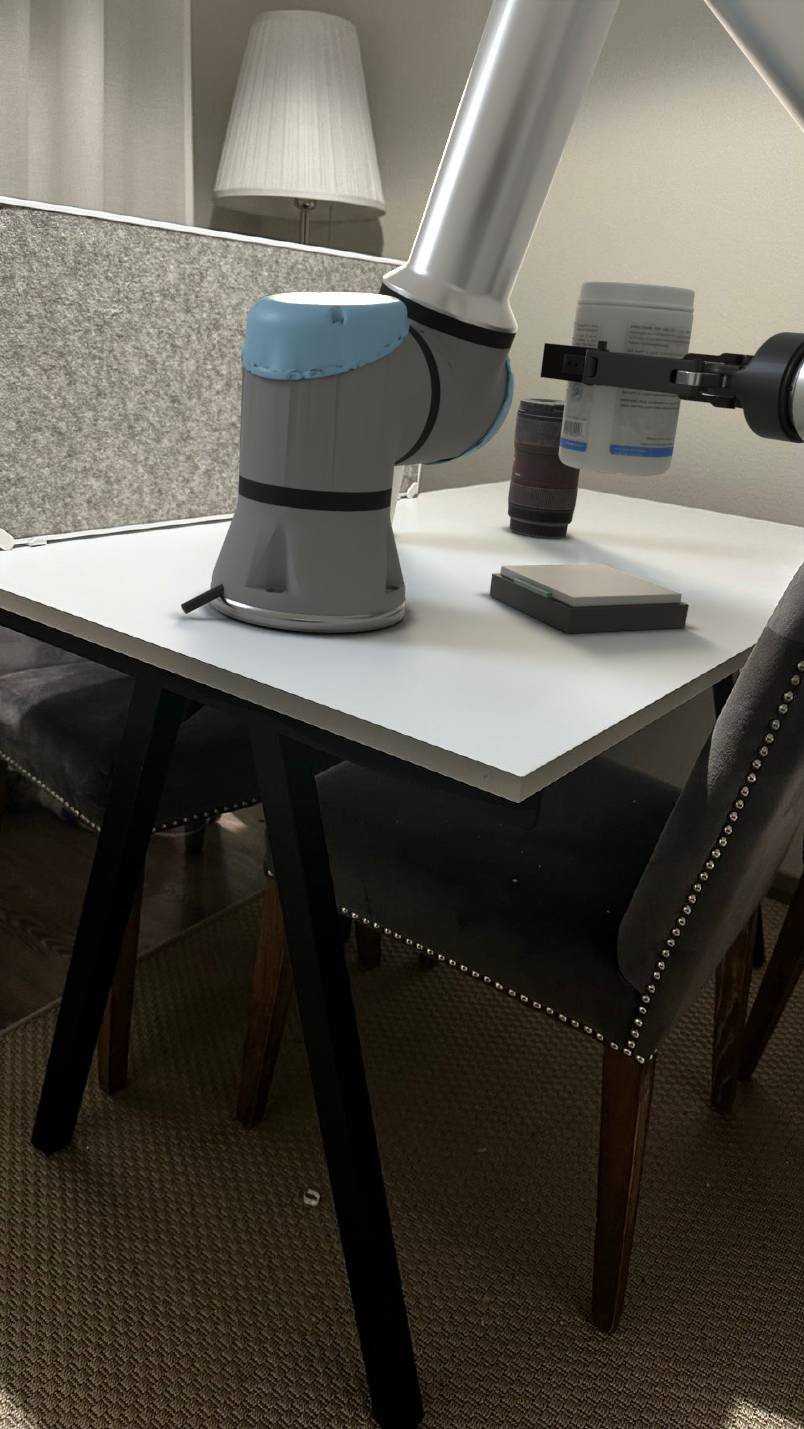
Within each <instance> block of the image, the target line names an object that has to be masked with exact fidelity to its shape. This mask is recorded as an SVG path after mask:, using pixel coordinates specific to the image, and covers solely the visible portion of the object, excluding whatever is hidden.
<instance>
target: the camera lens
mask: <svg viewBox="0 0 804 1429" xmlns="http://www.w3.org/2000/svg"><path fill="white" fill-rule="evenodd" d="M564 404H565V399H563V400H562V399H551V398H531V397H530V398H526V397H525V398H521V399H520V401H519V406H518V408H517V412H516V419H515V427H514V440H513V445H514V446H513V447H514V451H513V461H512V466H511V467H512V468H511V474H510V475H511V476H510V481H509V489H508V496H507V515H508V516H509V518H510V519H509V529H510V531H512V532H514V533H517V534H521V535H525V536H529V537H538V538H545V539H560V538H564V537H566V536H567V532H568V527H569V525H570V524H571V523H572V522H573V518H574V514H575V510H576V505H577V500H578V492H579V488H578V486H579V478H580V473H581V469H577V468H574V467H570V466H567V465H565V464H564V463H562V462H561V460H560V458H559V448H560V438H561V430H562V422H563V413H564Z"/></svg>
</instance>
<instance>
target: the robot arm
mask: <svg viewBox="0 0 804 1429" xmlns="http://www.w3.org/2000/svg"><path fill="white" fill-rule="evenodd" d="M703 1H704V3H705V4H706V6H707V7H708V8H709V10H710V11H711V12H712V14H713V15H714V16H715V18H716V19H717V21H718V22H719V23H720V24H721V25H722V26H723V28H724V30H725V31H726V32H727V34H728V35H729V37H730V38H731V39H732V40H733V41H734V43H735V44H736V45H737V46H738V48H739V49H740V51H741V52H742V54H743V55H744V56H745V57H746V59H747V60H748V61H749V63H750V64H751V65H752V66H753V68H754V69H755V71H756V72H757V73H758V75H759V76H760V77H761V79H762V80H763V81H764V82H765V84H766V85H767V86H768V88H769V89H770V91H771V92H772V93H773V95H774V96H775V97H776V98H777V100H778V101H779V102H780V104H781V106H783V108H784V109H785V110H786V112H787V113H788V114H789V115H790V117H791V118H792V119H793V121H794V122H795V124H796V125H797V126H798V128H799V129H800V130H801V131H802V133H803V134H804V0H703ZM620 2H621V0H493V1H492V4H491V7H490V10H489V13H488V16H487V18H486V22H485V26H484V28H483V30H482V31H483V32H482V34H481V37H480V41H479V44H478V47H477V50H476V53H475V56H474V59H473V62H472V66H471V69H470V71H469V75H468V78H467V81H466V84H465V87H464V90H463V92H462V96H461V100H460V102H459V105H458V108H457V111H456V115H455V118H454V121H453V124H452V127H451V130H450V133H449V136H448V138H447V142H446V145H445V148H444V151H443V155H442V157H441V160H440V163H439V166H438V170H437V173H436V176H435V179H434V182H433V185H432V188H431V191H430V194H429V197H428V200H427V203H426V207H425V210H424V212H423V216H422V218H421V222H420V225H419V228H418V231H417V233H416V234H417V235H416V238H415V240H414V242H413V246H412V249H411V252H410V255H409V259H408V260H407V262H405V264H403V265H401V266H399V267H397V268H395V269H394V270H392V271H389V272H388V273H386V274H384V275H383V278H382V281H381V284H380V287H379V290H378V294H377V293H367V292H344V291H323V292H321V291H320V292H316V291H301V292H286V293H285V292H284V293H277V294H275V293H274V294H272V295H271V294H270V295H266V296H264V297H261V298H259V299H258V300H256V301H255V302H254V303H253V304H252V305H251V307H250V308H249V310H248V313H247V316H246V325H245V334H244V345H243V346H242V348H241V354H240V362H241V365H242V370H241V398H240V399H241V400H240V401H241V402H240V425H239V426H240V428H239V429H240V430H239V459H238V460H239V462H238V488H237V489H238V490H237V503H236V507H235V511H234V513H233V516H232V519H231V521H230V524H229V526H228V529H227V532H226V535H225V538H224V540H223V543H222V546H221V549H220V551H219V554H218V557H217V559H216V562H215V564H214V567H213V570H212V575H211V582H210V588H209V590H206V591H204V592H202V593H201V594H200V593H199V594H198V595H197V596H194V597H193V598H191V599H188V600H186V601H184V602H183V603H181V604H180V608H181V610H182V611H183V613H184V614H185V615H188V614H189V613H191V612H193V611H195V610H197V609H200V607H201V608H202V606H205V605H207V604H209V603H210V604H211V606H212V607H213V608H214V609H215V610H217V611H218V612H219V613H222V615H223V614H224V615H226V616H228V617H230V618H233V619H234V620H235V619H236V620H239V621H242V622H244V623H249V624H252V625H257V626H261V627H266V628H273V629H278V630H279V629H280V630H287V631H294V632H295V631H296V632H307V633H335V634H337V633H355V632H356V633H357V632H366V631H367V632H368V631H373V630H378V629H383V628H386V627H389V626H393V625H395V624H397V623H399V622H400V621H401V620H403V618H404V616H405V613H406V612H405V611H406V600H407V597H406V584H405V580H404V579H405V578H404V575H403V570H402V566H401V560H400V558H399V552H398V548H397V544H396V539H395V534H394V530H393V524H392V525H391V520H390V508H391V496H392V486H393V475H394V466H402V465H405V466H411V465H425V466H435V465H442V464H446V463H449V462H452V461H455V460H458V459H460V458H463V457H466V456H469V455H472V454H473V453H475V452H477V451H478V450H480V449H481V448H483V447H484V446H485V445H486V444H488V443H489V442H490V441H491V440H492V439H493V438H494V437H495V435H496V434H498V433H499V431H500V430H501V428H502V426H503V425H504V423H505V421H506V419H507V417H508V414H509V413H510V410H511V406H512V403H513V399H514V391H515V374H514V372H513V371H512V367H511V358H510V355H509V353H510V351H511V349H512V345H513V343H514V340H515V338H516V334H517V332H518V329H519V325H518V322H517V320H516V318H515V314H514V312H513V310H512V307H511V303H510V298H511V295H512V293H513V290H514V287H515V284H516V282H517V278H518V277H519V274H520V270H521V268H522V266H523V263H524V260H525V257H526V254H527V253H528V249H529V246H530V244H531V241H532V238H533V236H534V233H535V230H536V228H537V225H538V222H539V219H540V217H541V215H542V212H543V209H544V206H545V204H546V201H547V198H548V195H549V193H550V190H551V188H552V185H553V182H554V179H555V178H556V177H555V176H556V174H557V171H558V169H559V166H560V163H561V161H562V158H563V155H564V153H565V150H566V147H567V144H568V142H569V139H570V137H571V134H572V131H573V128H574V126H575V123H576V121H577V118H578V115H579V111H580V110H581V107H582V104H583V102H584V98H585V96H586V94H587V91H588V88H589V85H590V84H591V80H592V78H593V75H594V72H595V69H596V67H597V64H598V61H599V58H600V56H601V53H602V51H603V48H604V45H605V42H606V40H607V37H608V34H609V32H610V29H611V26H612V24H613V21H614V19H615V15H616V13H617V10H618V7H619V6H620ZM543 346H544V347H543V354H542V359H541V360H542V361H541V370H540V376H539V377H540V378H545V379H551V380H552V379H553V380H557V381H558V380H559V381H566V382H567V381H573V382H580V383H583V384H586V385H588V386H593V385H594V384H595V385H598V386H602V385H603V386H612V387H620V388H628V389H636V390H645V391H653V392H661V393H669V394H676V395H678V397H679V398H680V399H681V401H689V402H695V403H696V402H697V403H706V404H711V406H712V407H714V408H718V409H719V408H720V409H729V410H736V409H741V410H742V412H743V416H744V419H745V422H746V424H747V426H748V428H749V429H750V430H751V431H752V432H753V434H755V435H757V436H758V437H760V438H763V439H768V440H775V441H781V442H788V443H794V444H804V332H792V331H782V332H779V333H776V334H773V335H771V336H770V337H769V338H767V339H766V340H765V341H764V342H762V344H761V345H760V346H759V347H758V349H757V350H756V351H755V352H754V355H753V354H742V353H734V352H733V353H732V352H723V353H721V354H719V355H716V354H703V353H695V352H688V354H686V355H685V356H684V357H683V358H682V359H676V358H666V357H656V356H646V355H636V354H626V353H616V352H609V350H608V349H606V348H607V341H598V343H597V348H589V347H579V346H571V345H568V344H560V343H559V344H558V343H548V342H545V343H544V345H543Z"/></svg>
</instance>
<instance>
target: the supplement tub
mask: <svg viewBox="0 0 804 1429" xmlns="http://www.w3.org/2000/svg"><path fill="white" fill-rule="evenodd" d="M578 293H579V294H578V298H577V300H576V304H577V305H576V307H575V314H574V322H573V329H572V337H571V345H570V346H579V347H589V348H597V343H598V341H607V348H606V349H608V350H609V352H616V353H626V354H636V355H646V356H656V357H666V358H676V359H682V358H683V357H684V356H685V355H686V354H688V353H689V349H690V343H691V338H692V337H691V336H692V331H693V323H694V311H695V308H694V302H695V297H696V296H695V295H696V292H695V290H693V289H691V288H686V287H685V288H684V287H678V286H669V285H668V286H667V285H659V284H658V285H657V284H646V283H635V282H634V283H633V282H617V281H616V282H615V281H583V282H581V283H580V287H579V292H578ZM565 388H566V389H565V397H564V401H565V404H564V413H563V422H562V430H561V438H560V448H559V458H560V460H561V462H562V463H564V464H565V465H567V466H570V467H574V468H577V469H580V470H583V471H587V472H594V473H600V474H610V475H612V474H613V475H617V474H620V475H624V476H629V477H630V476H633V477H648V476H660V475H663V474H664V473H666V472H668V470H669V469H670V467H671V465H672V459H673V455H674V454H673V453H674V448H675V442H676V436H677V429H678V421H679V416H680V409H681V403H682V402H681V401H682V400H681V399H680V398H679V397H678V395H676V394H669V393H661V392H653V391H645V390H636V389H628V388H620V387H612V386H603V385H602V386H598V385H595V384H594V385H593V386H588V385H586V384H583V383H580V382H573V381H566V387H565Z"/></svg>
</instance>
